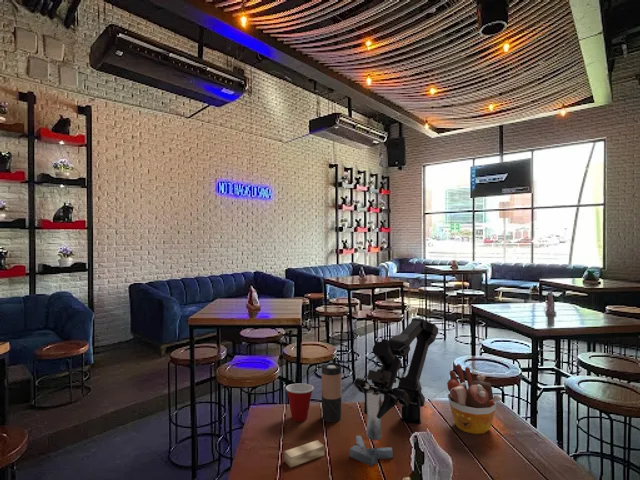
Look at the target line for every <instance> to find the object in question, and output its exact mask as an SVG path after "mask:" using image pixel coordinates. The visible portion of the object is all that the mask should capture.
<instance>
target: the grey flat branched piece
mask: <svg viewBox="0 0 640 480" xmlns="http://www.w3.org/2000/svg"><path fill="white" fill-rule="evenodd" d="M393 452H394V451H393V447H391V446H388V447H375V448H373V447H371V448H366V445H365V442H364V439H363V437H362V435H356V436H355V444H354V445H353V446H352V447H350V448H349V457H350V458H352V459H354V460H356V461H359V462H361V463H364V464H365V465H368V466H370V467H373V466H374V465H376V464H377V462H378V460H384V459H393V458H394V457H393V456H394V455H393Z"/></svg>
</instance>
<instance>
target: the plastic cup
mask: <svg viewBox="0 0 640 480" xmlns="http://www.w3.org/2000/svg"><path fill="white" fill-rule="evenodd" d="M285 390H286V393H287V396H288V403H289V409H290V416H291V419H292V420H293V421H294V422H300V423H301V422H305V421H306V420H308V417H309V416H308V415H309V409H310V404H311V399H312V394H313V391H314V386H313V385H312V384H309V383H291V384H288V385H286V386H285Z"/></svg>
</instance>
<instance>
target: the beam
mask: <svg viewBox="0 0 640 480" xmlns="http://www.w3.org/2000/svg"><path fill="white" fill-rule="evenodd" d="M283 453H284V462H285V463H286V465H287V466H289V468H293V467H296V466H299V465H302V464H304V463H307V462H310V461H313V460H315V459H318V458H321V457H323V456H325V445H324V444H323V443H322V442H320V441H319V439H316V440H314V441H311V442H307V443H305V444H302V445H299V446H296V447H293V448H290V449H287V450H284V452H283Z"/></svg>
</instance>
